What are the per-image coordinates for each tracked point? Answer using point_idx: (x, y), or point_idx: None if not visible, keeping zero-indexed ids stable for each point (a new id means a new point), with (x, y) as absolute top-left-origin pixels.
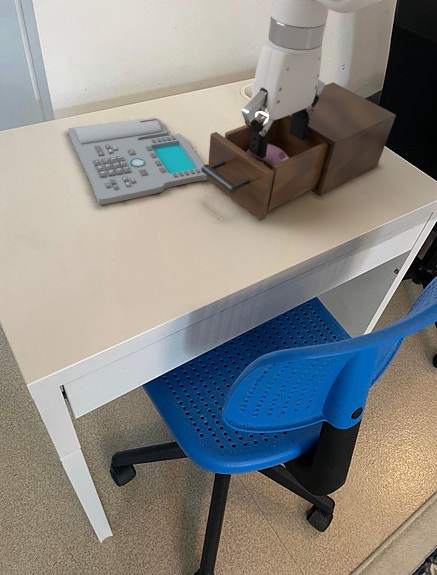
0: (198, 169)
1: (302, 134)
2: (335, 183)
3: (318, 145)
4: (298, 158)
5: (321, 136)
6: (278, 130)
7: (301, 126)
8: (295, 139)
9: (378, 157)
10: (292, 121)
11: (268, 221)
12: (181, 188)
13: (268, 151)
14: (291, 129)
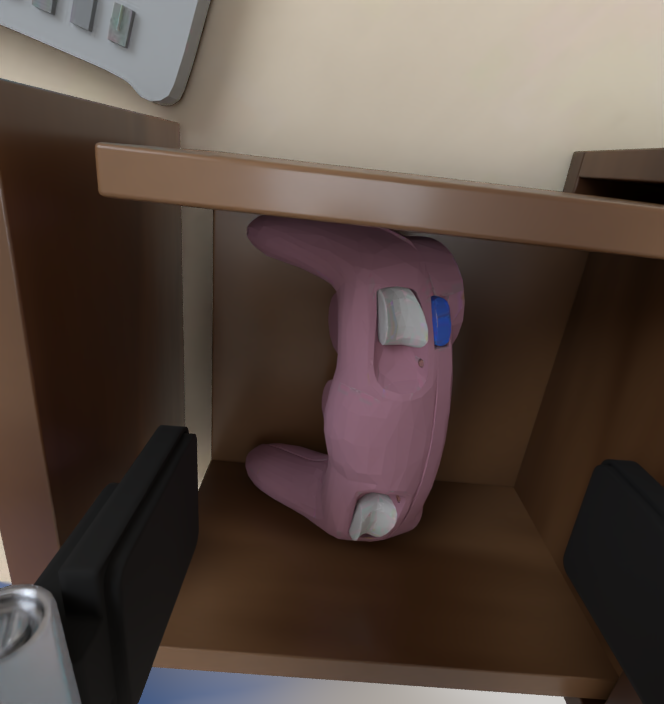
0: (130, 17)
1: (585, 595)
2: None
3: (545, 678)
4: (328, 676)
5: (631, 691)
6: None
7: (625, 629)
8: (644, 417)
9: None
10: (660, 550)
11: (208, 462)
12: (10, 52)
13: (346, 433)
14: (614, 499)
